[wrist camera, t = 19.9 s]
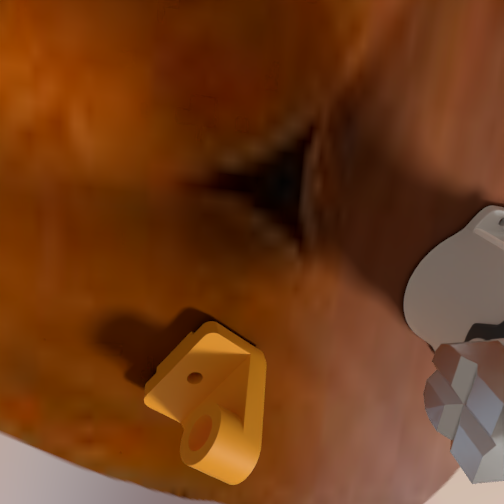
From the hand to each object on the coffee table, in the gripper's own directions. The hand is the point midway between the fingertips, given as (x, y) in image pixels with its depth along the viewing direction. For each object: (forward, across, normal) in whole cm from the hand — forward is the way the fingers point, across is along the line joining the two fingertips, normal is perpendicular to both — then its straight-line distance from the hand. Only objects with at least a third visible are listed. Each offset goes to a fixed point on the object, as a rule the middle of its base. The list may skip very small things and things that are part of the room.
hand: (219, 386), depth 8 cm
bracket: (+31, -2, +26) cm, 41 cm away
